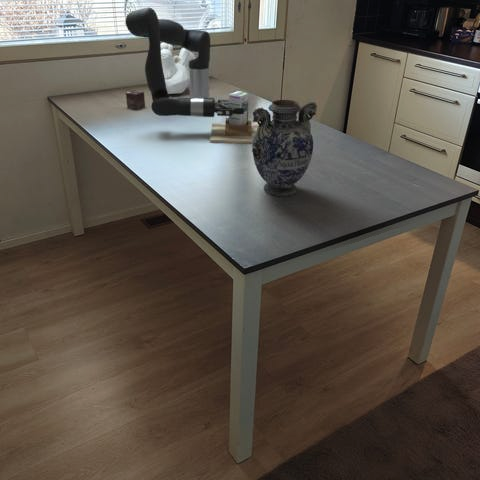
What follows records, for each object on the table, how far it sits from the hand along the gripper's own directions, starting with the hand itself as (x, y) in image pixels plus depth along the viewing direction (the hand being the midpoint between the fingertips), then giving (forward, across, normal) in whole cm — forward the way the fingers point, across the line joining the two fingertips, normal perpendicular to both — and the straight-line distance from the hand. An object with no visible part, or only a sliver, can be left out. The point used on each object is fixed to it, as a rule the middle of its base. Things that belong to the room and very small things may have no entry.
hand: (243, 108), depth 211 cm
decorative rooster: (-32, +63, +11) cm, 71 cm away
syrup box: (-2, 0, +9) cm, 9 cm away
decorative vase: (+11, -54, +11) cm, 56 cm away
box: (-49, +35, +11) cm, 61 cm away
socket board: (-2, 0, +11) cm, 11 cm away
